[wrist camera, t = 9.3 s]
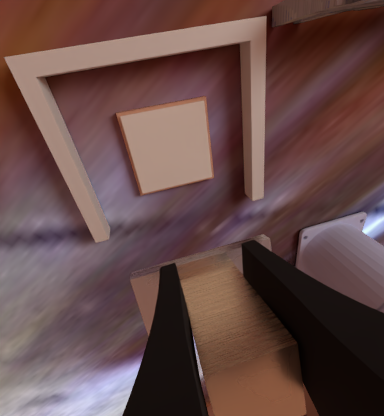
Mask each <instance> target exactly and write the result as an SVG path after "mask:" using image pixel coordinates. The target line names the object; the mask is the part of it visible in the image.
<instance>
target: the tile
mask: <svg viewBox="0 0 384 416" xmlns="http://www.w3.org/2000/svg"><path fill="white" fill-rule="evenodd" d="M116 115H117V118H118V122H119V125H120V128H121V132H122V135H123V138H124V142H125V145H126V148H127V152H128V155H129V158H130V162H131V165H132V168H133V172H134V175H135V178H136V182H137V185H138V188H139V192H140V195H145V194H149V193H153V192H157V191H161V190H166V189H170V188H174V187H178V186H182V185H186V184H191V183H195V182H199V181H203V180H207V179H211V178H214V173H213V163H212V153H211V143H210V133H209V123H208V113H207V103H206V96H202V97H196V98H191V99H186V100H180V101H175V102H170V103H164V104H159V105H154V106H148V107H143V108H138V109H132V110H127V111H122V112H116Z"/></svg>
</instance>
